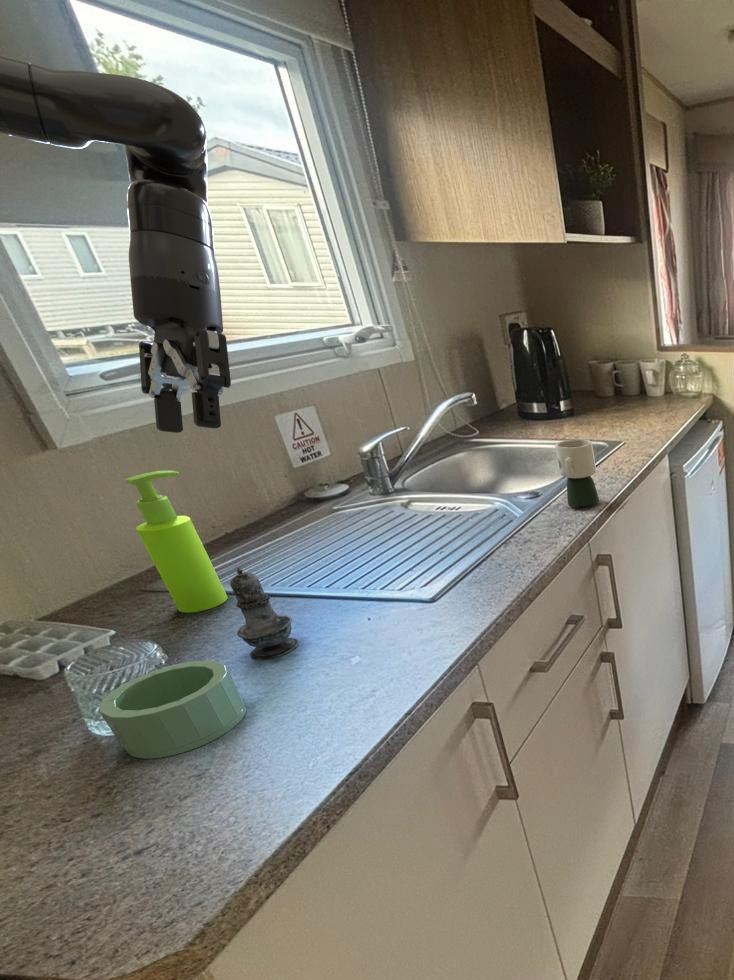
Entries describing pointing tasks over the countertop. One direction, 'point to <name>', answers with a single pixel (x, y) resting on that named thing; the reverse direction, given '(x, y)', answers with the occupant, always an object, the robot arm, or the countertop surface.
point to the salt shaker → (261, 619)
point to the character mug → (578, 471)
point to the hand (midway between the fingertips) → (188, 429)
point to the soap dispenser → (176, 549)
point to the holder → (173, 709)
